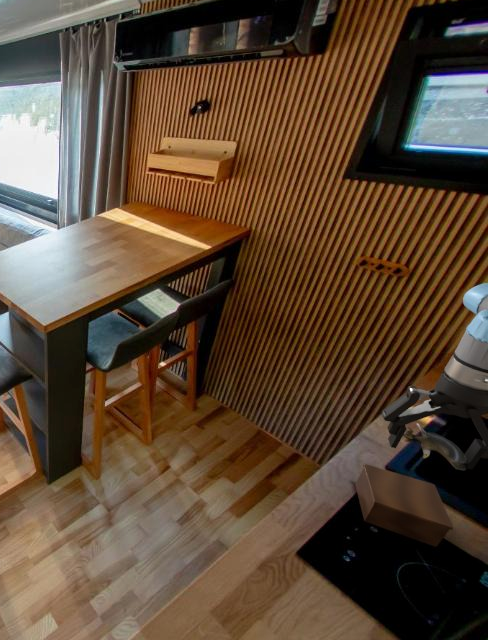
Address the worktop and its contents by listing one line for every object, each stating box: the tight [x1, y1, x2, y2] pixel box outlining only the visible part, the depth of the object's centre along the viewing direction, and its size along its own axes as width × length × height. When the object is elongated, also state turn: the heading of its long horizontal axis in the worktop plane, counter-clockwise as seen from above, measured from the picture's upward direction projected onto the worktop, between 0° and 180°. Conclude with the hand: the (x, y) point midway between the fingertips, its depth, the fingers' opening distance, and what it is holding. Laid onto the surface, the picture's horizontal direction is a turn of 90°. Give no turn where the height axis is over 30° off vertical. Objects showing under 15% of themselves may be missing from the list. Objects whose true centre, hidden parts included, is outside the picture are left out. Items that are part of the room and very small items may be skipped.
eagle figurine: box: [402, 423, 467, 471], centre depth 80 cm, size 8×7×9 cm
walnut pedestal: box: [355, 463, 454, 548], centre depth 86 cm, size 11×11×8 cm
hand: (427, 453), depth 82 cm, fingers closed on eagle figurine, 10 cm apart
